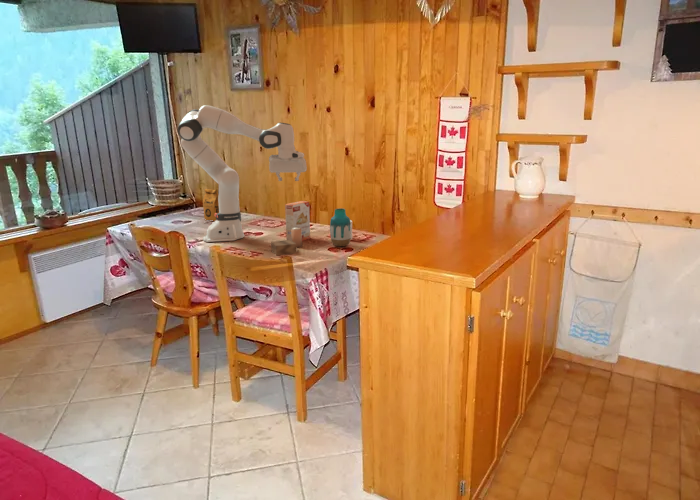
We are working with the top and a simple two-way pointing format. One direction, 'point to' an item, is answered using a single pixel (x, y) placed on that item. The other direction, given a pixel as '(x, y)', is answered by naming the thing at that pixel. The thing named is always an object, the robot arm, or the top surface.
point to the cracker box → (298, 218)
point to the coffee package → (210, 204)
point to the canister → (296, 236)
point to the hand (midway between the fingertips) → (288, 180)
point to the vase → (340, 228)
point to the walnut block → (283, 247)
